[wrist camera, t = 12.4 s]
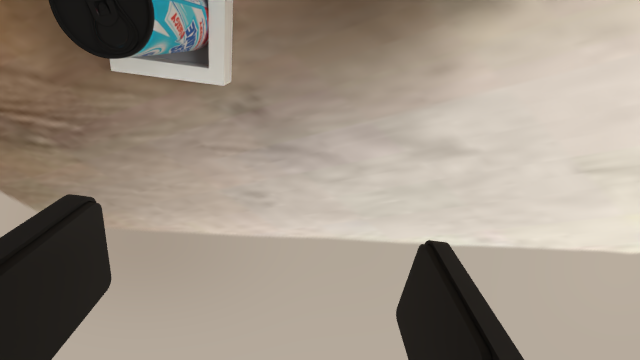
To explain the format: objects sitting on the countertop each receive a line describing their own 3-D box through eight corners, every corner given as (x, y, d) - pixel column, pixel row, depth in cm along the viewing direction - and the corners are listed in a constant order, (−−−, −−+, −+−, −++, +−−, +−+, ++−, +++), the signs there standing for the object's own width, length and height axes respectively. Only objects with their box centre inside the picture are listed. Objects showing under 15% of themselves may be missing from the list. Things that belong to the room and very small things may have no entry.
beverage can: (164, 51, 34) (66, 60, 20) (152, -14, 31) (30, -54, 17) (221, 50, 34) (162, 58, 20) (212, -14, 31) (138, -55, 18)
